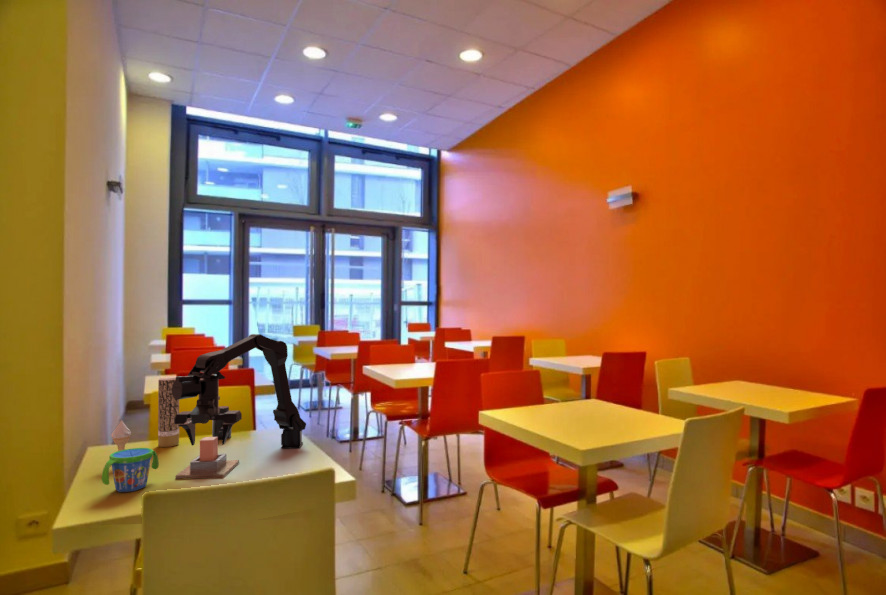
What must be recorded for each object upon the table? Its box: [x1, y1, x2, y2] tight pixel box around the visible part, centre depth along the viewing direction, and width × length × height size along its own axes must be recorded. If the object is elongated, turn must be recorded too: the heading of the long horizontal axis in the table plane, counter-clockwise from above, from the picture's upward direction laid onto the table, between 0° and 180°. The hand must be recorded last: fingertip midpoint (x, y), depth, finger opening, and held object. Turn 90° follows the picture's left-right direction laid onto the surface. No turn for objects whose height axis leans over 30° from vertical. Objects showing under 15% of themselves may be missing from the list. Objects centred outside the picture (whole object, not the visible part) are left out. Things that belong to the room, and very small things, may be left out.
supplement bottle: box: [211, 405, 232, 441], centre depth 198 cm, size 7×7×12 cm
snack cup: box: [101, 447, 160, 493], centre depth 144 cm, size 16×10×10 cm
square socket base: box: [175, 453, 240, 480], centre depth 159 cm, size 14×14×4 cm
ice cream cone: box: [110, 419, 132, 451], centre depth 164 cm, size 6×6×15 cm
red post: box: [199, 436, 219, 461], centre depth 159 cm, size 4×4×9 cm
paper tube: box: [157, 375, 180, 448], centre depth 188 cm, size 7×7×25 cm
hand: (208, 444), depth 159 cm, fingers open, 9 cm apart
